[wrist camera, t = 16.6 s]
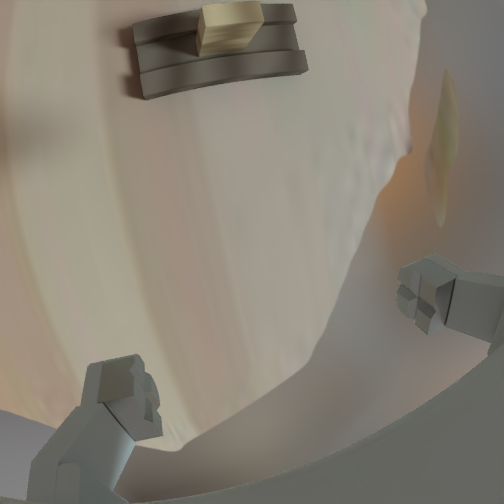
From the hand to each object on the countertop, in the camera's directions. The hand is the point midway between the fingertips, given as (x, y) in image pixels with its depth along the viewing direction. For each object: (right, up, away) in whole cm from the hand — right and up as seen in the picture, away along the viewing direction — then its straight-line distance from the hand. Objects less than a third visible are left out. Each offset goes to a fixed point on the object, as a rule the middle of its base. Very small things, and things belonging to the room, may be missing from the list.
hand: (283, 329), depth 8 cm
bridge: (-5, +28, +24) cm, 37 cm away
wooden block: (-5, +27, +22) cm, 35 cm away
